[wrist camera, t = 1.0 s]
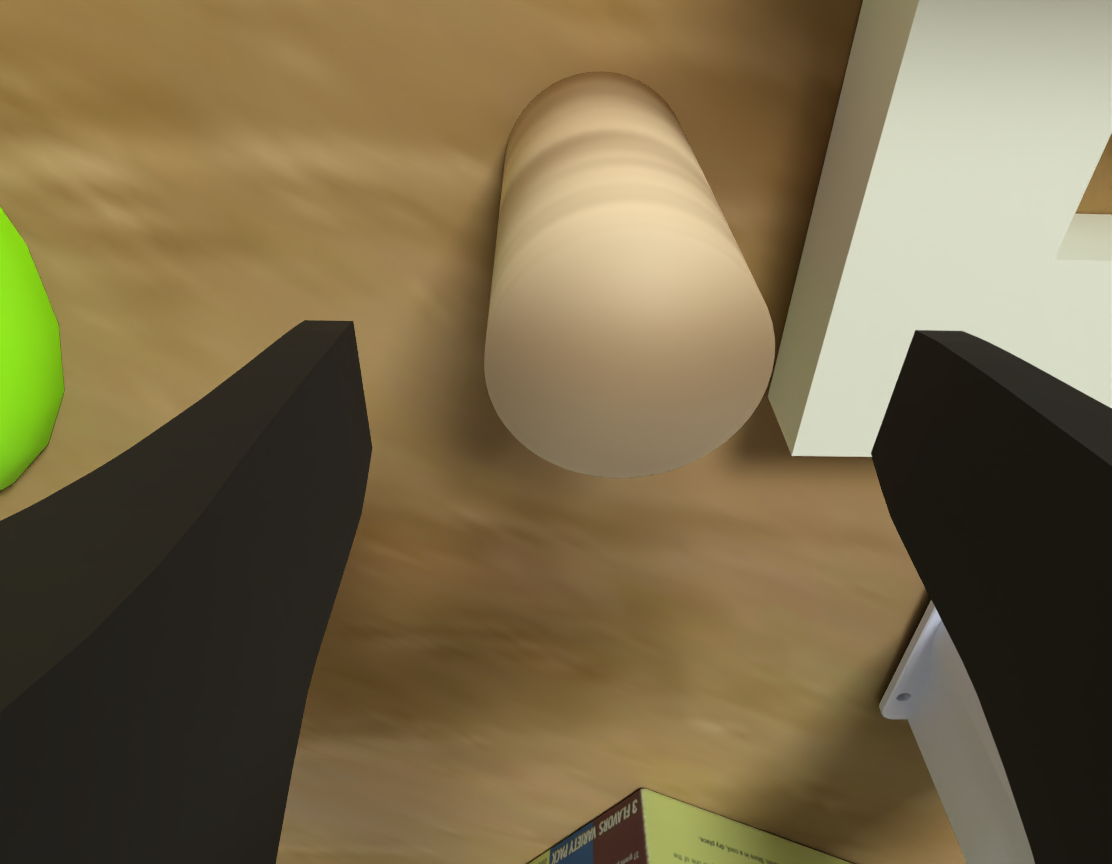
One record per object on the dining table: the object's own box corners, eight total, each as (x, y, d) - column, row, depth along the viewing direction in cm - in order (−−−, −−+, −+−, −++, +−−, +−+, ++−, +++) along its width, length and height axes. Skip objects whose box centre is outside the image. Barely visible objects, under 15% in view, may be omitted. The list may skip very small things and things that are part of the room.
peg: (675, 256, 18) (746, 479, 12) (505, 252, 18) (487, 477, 12) (698, 74, 16) (804, 235, 10) (503, 69, 16) (479, 229, 9)
